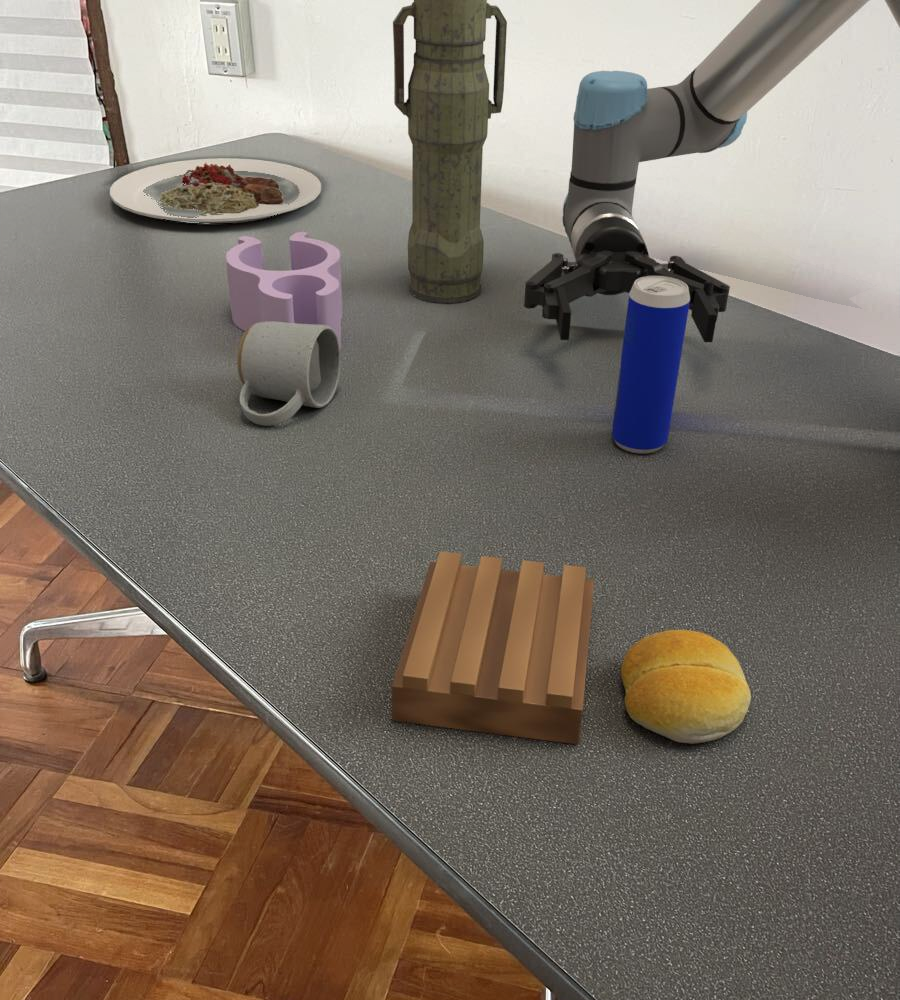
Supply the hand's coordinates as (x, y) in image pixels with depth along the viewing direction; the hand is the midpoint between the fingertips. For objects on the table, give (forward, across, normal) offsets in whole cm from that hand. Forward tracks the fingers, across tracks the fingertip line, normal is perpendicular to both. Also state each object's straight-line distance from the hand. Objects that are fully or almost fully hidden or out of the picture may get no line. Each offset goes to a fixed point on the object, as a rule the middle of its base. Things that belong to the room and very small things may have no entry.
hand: (638, 327), depth 100 cm
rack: (+39, +15, -8) cm, 42 cm away
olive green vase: (-31, +18, -9) cm, 37 cm away
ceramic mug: (0, +33, -9) cm, 34 cm away
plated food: (-65, +50, -9) cm, 83 cm away
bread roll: (+42, +3, -9) cm, 43 cm away
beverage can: (+7, 0, -9) cm, 11 cm away
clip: (-20, +35, -9) cm, 41 cm away
